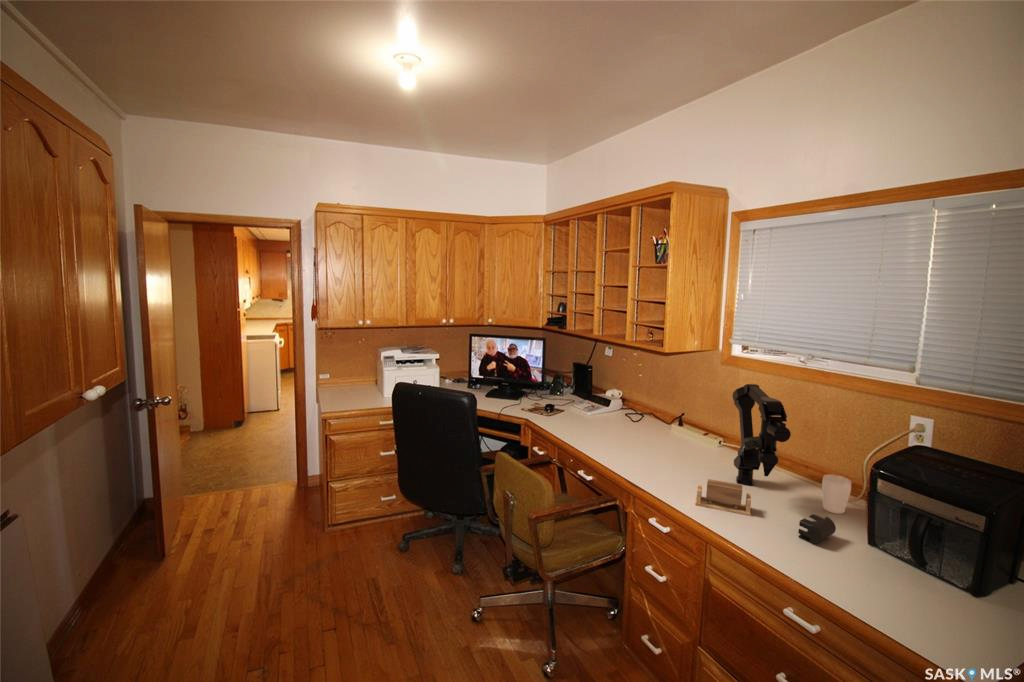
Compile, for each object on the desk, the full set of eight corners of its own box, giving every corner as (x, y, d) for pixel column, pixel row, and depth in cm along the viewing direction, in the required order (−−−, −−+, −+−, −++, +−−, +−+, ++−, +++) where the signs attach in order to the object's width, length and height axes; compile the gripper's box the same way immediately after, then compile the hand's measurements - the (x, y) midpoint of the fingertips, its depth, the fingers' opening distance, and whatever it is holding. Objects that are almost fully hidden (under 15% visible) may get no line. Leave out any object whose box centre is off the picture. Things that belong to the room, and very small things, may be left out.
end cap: (819, 548, 157) (821, 529, 156) (797, 537, 163) (799, 519, 162) (834, 539, 162) (837, 520, 161) (812, 529, 168) (814, 511, 167)
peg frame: (696, 497, 191) (697, 483, 190) (750, 507, 183) (751, 493, 182) (695, 504, 184) (696, 490, 183) (750, 516, 176) (752, 501, 176)
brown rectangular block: (706, 493, 188) (707, 478, 187) (740, 499, 183) (742, 484, 182) (706, 498, 183) (707, 483, 182) (740, 505, 178) (742, 490, 177)
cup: (816, 509, 182) (819, 479, 180) (822, 501, 188) (826, 472, 186) (844, 518, 176) (848, 487, 174) (850, 509, 182) (854, 479, 180)
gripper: (745, 422, 196) (741, 459, 198) (745, 437, 179) (742, 477, 181) (776, 426, 191) (772, 464, 193) (780, 441, 174) (776, 482, 177)
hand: (765, 471), depth 186 cm, fingers open, 9 cm apart
